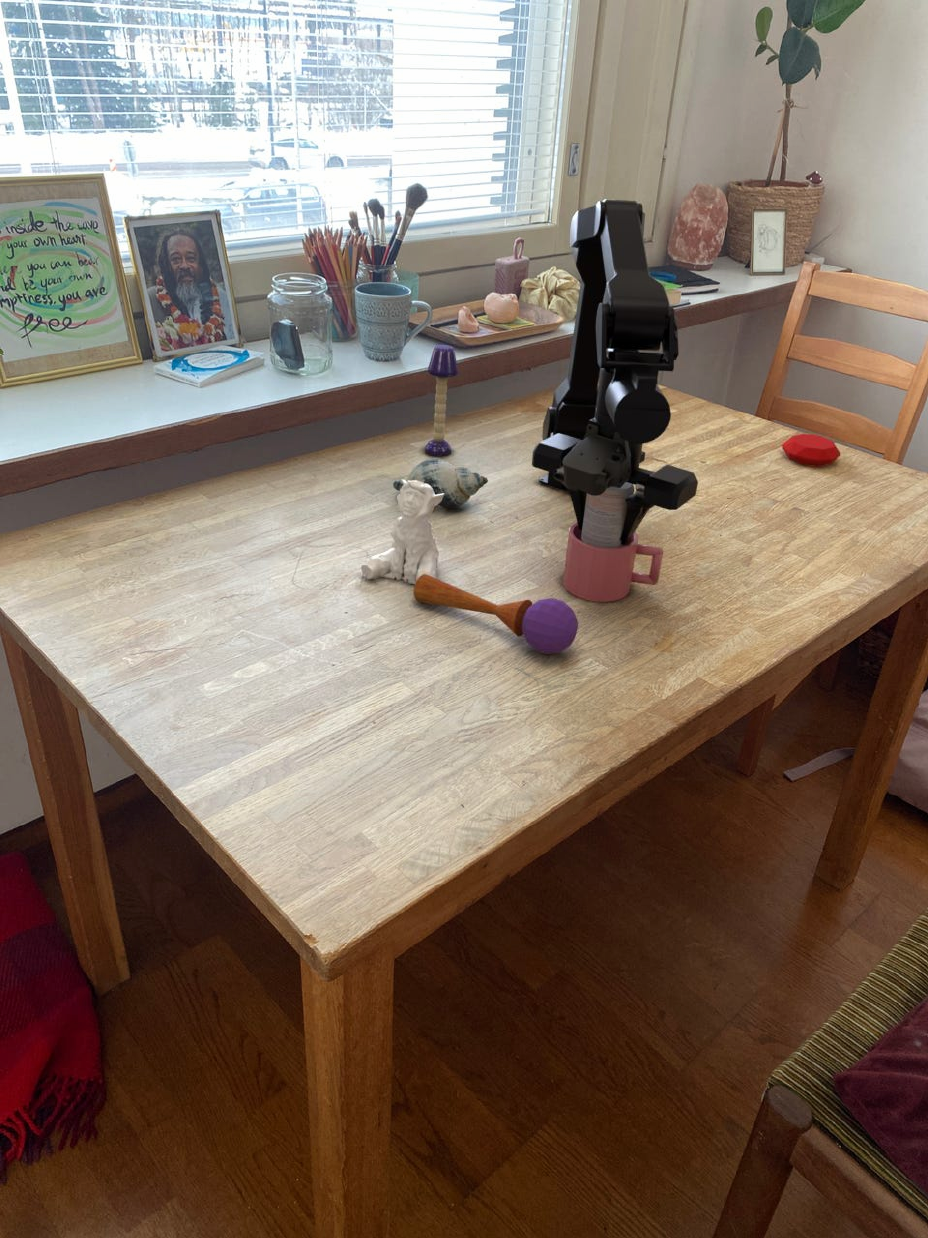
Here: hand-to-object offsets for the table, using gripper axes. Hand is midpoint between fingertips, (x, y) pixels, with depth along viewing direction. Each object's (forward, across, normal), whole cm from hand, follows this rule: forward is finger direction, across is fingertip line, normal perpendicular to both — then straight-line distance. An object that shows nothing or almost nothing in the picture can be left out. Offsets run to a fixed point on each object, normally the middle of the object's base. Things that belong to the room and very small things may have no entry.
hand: (603, 536), depth 112 cm
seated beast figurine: (+7, -19, -13) cm, 24 cm away
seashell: (+7, -29, +6) cm, 30 cm away
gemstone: (+7, +6, +62) cm, 63 cm away
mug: (+7, +1, +1) cm, 7 cm away
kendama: (+7, -4, -17) cm, 18 cm away
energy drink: (+5, 0, 0) cm, 5 cm away
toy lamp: (+7, -41, +22) cm, 47 cm away
